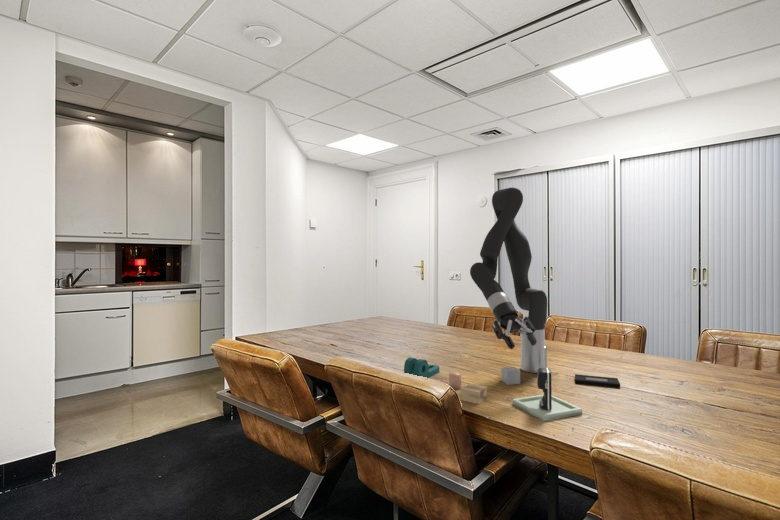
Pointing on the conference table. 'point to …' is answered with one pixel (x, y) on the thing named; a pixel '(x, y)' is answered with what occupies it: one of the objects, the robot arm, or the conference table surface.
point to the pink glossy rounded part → (455, 380)
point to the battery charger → (545, 387)
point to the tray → (533, 407)
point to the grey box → (510, 375)
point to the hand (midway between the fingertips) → (523, 346)
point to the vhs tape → (597, 381)
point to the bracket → (420, 367)
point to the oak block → (474, 393)
